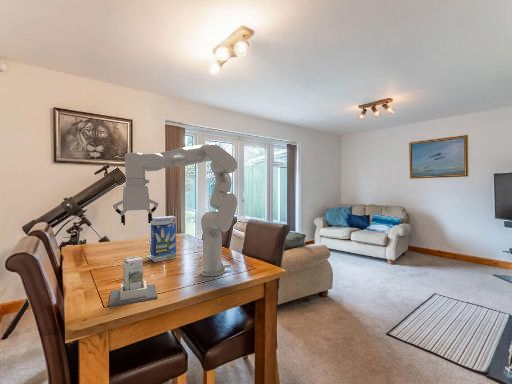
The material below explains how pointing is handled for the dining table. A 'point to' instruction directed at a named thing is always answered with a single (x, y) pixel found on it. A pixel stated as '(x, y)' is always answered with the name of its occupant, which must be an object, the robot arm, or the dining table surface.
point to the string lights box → (163, 238)
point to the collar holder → (132, 295)
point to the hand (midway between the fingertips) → (137, 223)
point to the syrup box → (133, 273)
